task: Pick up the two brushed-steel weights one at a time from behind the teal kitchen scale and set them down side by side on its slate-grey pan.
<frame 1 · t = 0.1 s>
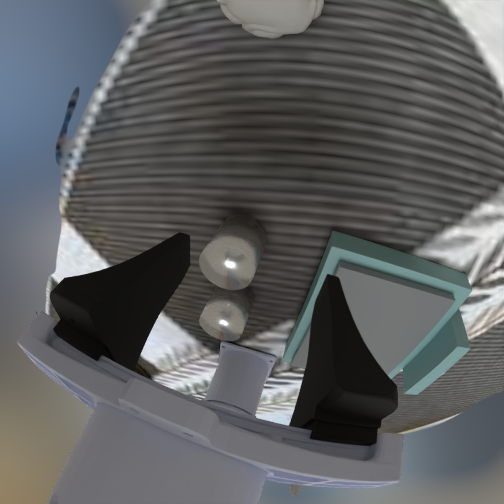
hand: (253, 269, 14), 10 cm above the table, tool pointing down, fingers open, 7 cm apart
scale: (369, 317, 27), on the table
steel weight b: (243, 234, 25), on the table
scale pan: (365, 338, 25), point 3 cm above the table, slide at 0.6 cm
steel weight a: (235, 293, 30), on the table
grey rock: (280, 8, 13), on the table
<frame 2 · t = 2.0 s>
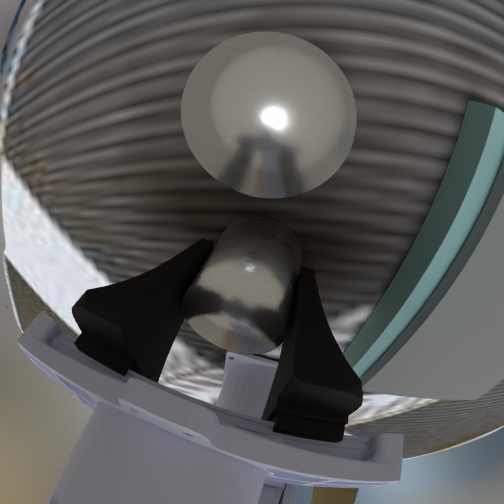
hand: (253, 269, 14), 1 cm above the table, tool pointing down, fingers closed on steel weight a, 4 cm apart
squeeze bottle: (344, 445, 34), on the table
scale: (491, 292, 12), on the table
steel weight b: (290, 102, 10), on the table
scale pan: (501, 326, 9), point 3 cm above the table, slide at 0.6 cm
steel weight a: (260, 252, 15), on the table, touching gripper
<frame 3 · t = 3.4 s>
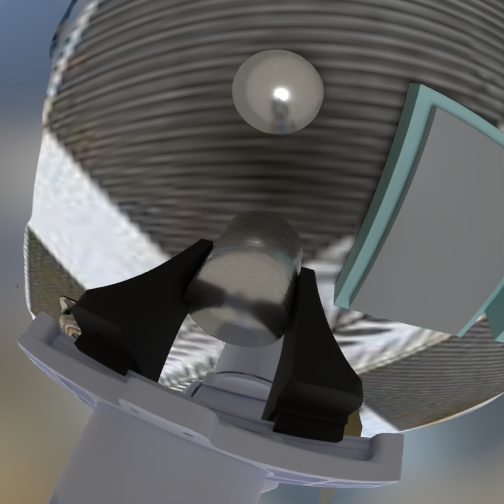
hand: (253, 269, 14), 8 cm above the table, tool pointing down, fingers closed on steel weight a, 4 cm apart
squeeze bottle: (341, 409, 39), on the table
scale: (451, 229, 17), on the table
steel weight b: (290, 89, 15), on the table
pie: (109, 342, 49), on the table
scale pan: (459, 248, 15), point 3 cm above the table, slide at 0.6 cm
steel weight a: (261, 247, 15), point 7 cm above the table, touching gripper
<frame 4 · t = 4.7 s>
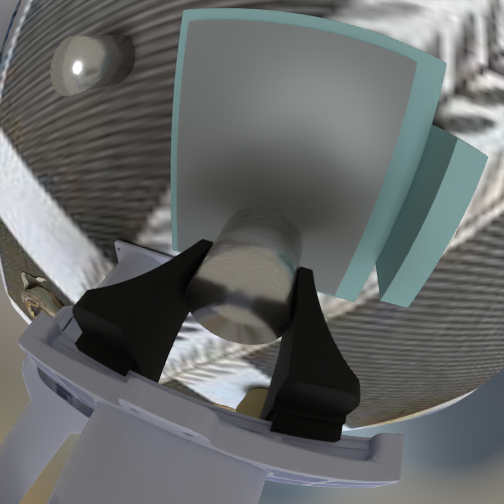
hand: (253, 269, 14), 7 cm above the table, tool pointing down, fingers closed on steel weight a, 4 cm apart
squeeze bottle: (267, 394, 39), on the table
scale: (291, 152, 17), on the table
steel weight b: (114, 60, 15), on the table
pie: (63, 317, 49), on the table
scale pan: (275, 164, 15), point 3 cm above the table, slide at 0.6 cm
steel weight a: (261, 244, 15), point 6 cm above the table, touching gripper
when the fingers open (7 cm above the table, at t = 5.0 s): steel weight a drops 2 cm, resting on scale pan.
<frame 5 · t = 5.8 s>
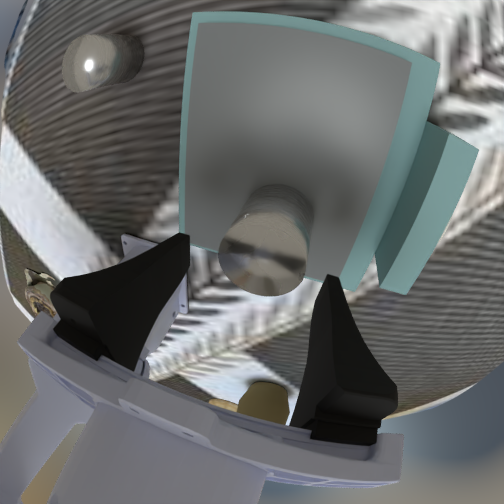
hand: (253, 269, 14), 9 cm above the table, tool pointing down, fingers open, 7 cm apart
squeeze bottle: (269, 387, 40), on the table
scale: (294, 148, 18), on the table
steel weight b: (123, 58, 16), on the table
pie: (66, 313, 50), on the table
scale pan: (280, 158, 16), point 3 cm above the table, slide at 0.6 cm, touching steel weight a
hand bell: (227, 406, 50), on the table
steel weight a: (278, 216, 17), point 3 cm above the table, touching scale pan
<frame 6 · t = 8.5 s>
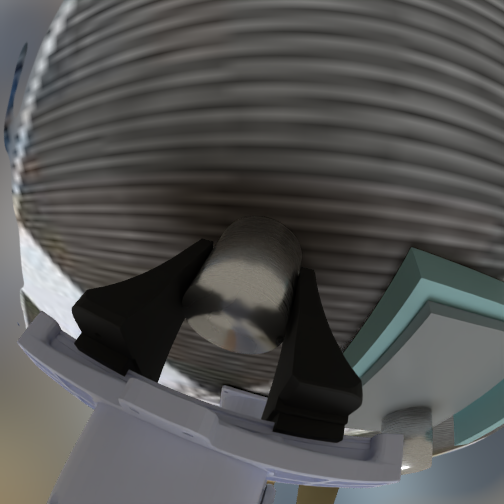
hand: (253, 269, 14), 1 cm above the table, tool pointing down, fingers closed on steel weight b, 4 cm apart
squeeze bottle: (326, 453, 39), on the table
scale: (428, 362, 17), on the table
steel weight b: (260, 252, 15), on the table, touching gripper
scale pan: (427, 393, 14), point 3 cm above the table, slide at 0.6 cm, touching steel weight a
steel weight a: (407, 417, 16), point 3 cm above the table, touching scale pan
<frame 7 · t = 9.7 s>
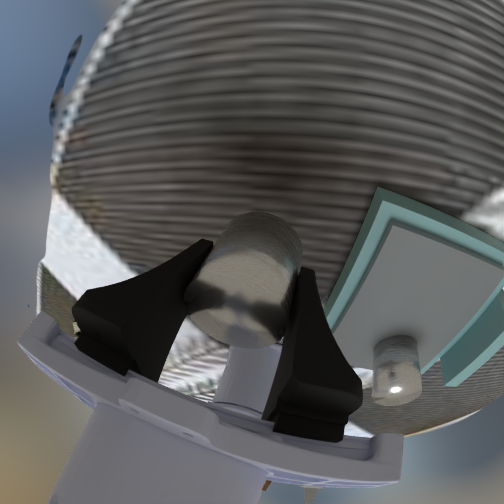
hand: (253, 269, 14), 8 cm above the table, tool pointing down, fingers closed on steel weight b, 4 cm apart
squeeze bottle: (325, 421, 44), on the table
scale: (409, 298, 22), on the table
steel weight b: (261, 248, 15), point 7 cm above the table, touching gripper
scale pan: (409, 320, 20), point 3 cm above the table, slide at 0.6 cm, touching steel weight a
steel weight a: (395, 349, 22), point 3 cm above the table, touching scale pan
when the fingers open (7 cm above the table, at t = 11.3 s): steel weight b drops 2 cm, resting on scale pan.
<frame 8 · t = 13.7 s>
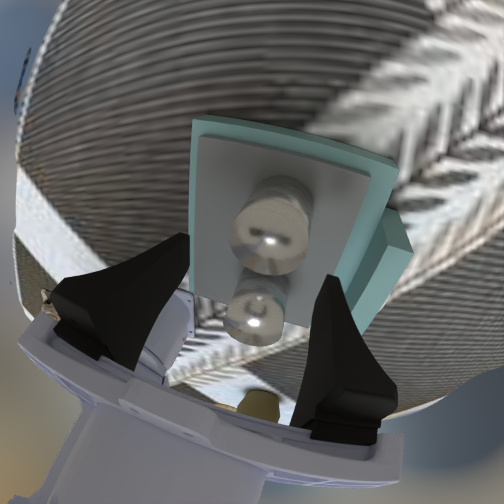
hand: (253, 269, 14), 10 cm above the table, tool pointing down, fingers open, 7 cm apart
squeeze bottle: (263, 395, 46), on the table
scale: (277, 229, 24), on the table
steel weight b: (282, 205, 19), point 3 cm above the table, touching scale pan
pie: (80, 328, 57), on the table
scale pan: (264, 246, 22), point 3 cm above the table, slide at 0.7 cm, touching steel weight a, steel weight b
steel weight a: (264, 284, 24), point 3 cm above the table, touching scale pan
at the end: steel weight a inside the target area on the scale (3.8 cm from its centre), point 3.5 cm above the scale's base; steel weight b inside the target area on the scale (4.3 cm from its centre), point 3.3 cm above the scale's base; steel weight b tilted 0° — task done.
